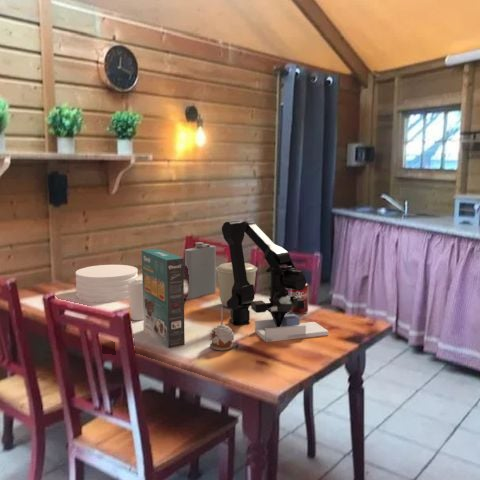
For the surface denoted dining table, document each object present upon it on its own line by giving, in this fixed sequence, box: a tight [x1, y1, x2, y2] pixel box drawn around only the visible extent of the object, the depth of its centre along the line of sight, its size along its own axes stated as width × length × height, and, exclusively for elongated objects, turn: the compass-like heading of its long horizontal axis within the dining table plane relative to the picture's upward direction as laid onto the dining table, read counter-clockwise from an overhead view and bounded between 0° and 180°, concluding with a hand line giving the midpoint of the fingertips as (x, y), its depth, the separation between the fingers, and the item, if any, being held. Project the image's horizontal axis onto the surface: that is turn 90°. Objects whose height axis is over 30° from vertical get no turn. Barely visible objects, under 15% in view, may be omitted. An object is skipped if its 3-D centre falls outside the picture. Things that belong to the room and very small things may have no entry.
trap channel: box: [254, 317, 329, 343], centre depth 187 cm, size 24×11×4 cm, turn 108°
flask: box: [184, 241, 217, 300], centre depth 237 cm, size 17×5×25 cm, turn 137°
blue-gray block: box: [281, 313, 301, 327], centre depth 186 cm, size 5×5×5 cm
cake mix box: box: [141, 248, 186, 349], centre depth 180 cm, size 22×6×30 cm, turn 32°
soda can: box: [290, 282, 310, 315], centre depth 213 cm, size 7×7×12 cm
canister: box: [215, 262, 258, 308], centre depth 221 cm, size 18×18×21 cm
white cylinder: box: [128, 279, 144, 322], centre depth 202 cm, size 7×7×15 cm
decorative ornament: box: [209, 303, 235, 351], centre depth 172 cm, size 8×8×15 cm
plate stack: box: [75, 264, 139, 303], centre depth 240 cm, size 28×28×12 cm
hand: (277, 328), depth 185 cm, fingers closed
